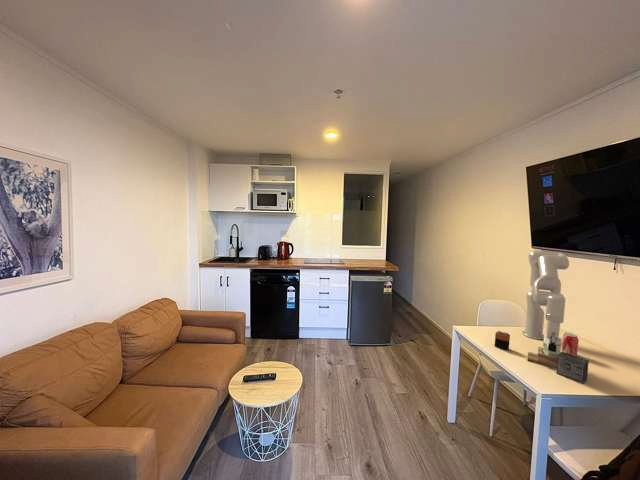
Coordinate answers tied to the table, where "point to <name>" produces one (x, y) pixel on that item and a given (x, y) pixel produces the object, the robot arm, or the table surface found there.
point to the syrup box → (546, 343)
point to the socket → (543, 358)
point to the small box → (572, 367)
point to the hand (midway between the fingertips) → (551, 347)
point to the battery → (502, 340)
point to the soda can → (570, 343)
